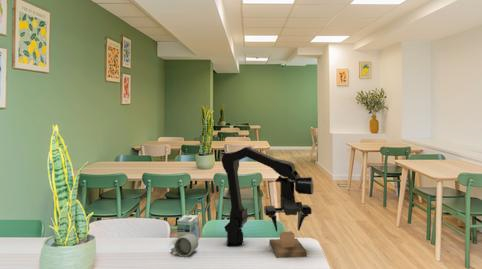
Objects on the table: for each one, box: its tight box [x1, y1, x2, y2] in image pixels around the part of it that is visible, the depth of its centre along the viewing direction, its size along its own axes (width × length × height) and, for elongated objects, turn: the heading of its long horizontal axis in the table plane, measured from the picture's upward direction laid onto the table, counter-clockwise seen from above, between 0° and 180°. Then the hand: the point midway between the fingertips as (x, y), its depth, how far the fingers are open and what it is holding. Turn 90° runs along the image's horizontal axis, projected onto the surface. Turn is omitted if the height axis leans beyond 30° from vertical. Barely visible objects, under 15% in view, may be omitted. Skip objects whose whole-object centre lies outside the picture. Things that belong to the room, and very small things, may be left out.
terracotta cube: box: [279, 230, 296, 248], centre depth 150 cm, size 5×5×5 cm
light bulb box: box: [176, 214, 200, 240], centre depth 161 cm, size 11×7×11 cm, turn 168°
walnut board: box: [269, 238, 308, 259], centre depth 150 cm, size 12×16×2 cm
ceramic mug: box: [170, 234, 199, 258], centre depth 147 cm, size 11×8×8 cm
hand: (287, 230), depth 150 cm, fingers open, 9 cm apart
